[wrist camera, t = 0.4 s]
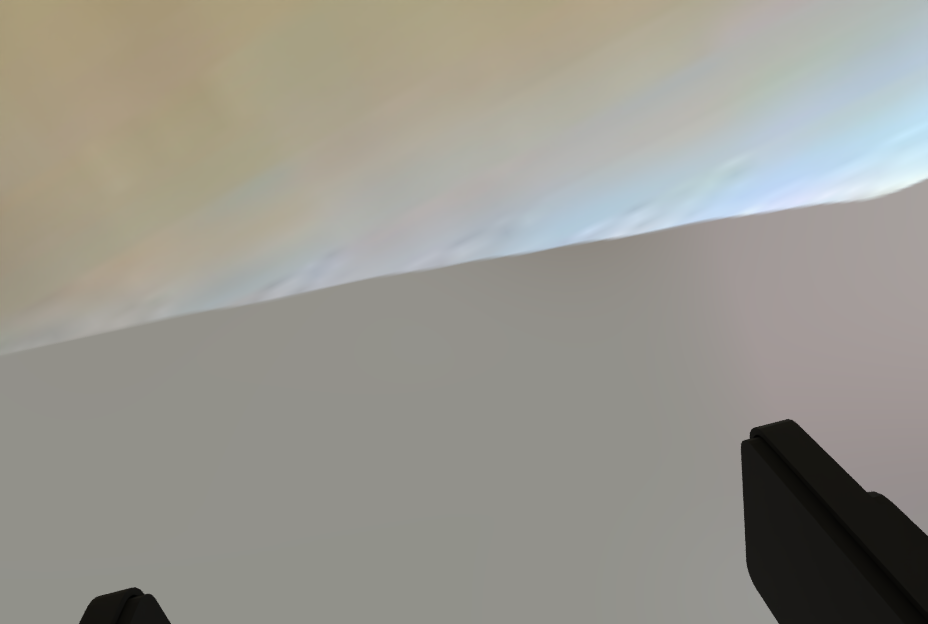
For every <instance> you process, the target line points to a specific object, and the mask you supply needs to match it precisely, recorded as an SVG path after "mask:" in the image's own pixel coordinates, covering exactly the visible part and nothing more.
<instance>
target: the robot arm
mask: <svg viewBox="0 0 928 624" xmlns="http://www.w3.org/2000/svg"><path fill="white" fill-rule="evenodd" d="M741 460H742V480H743V501H744V520H745V541H746V562H747V568H748V572H749V574H750V577H751V580H752V582H753V584H754V586H755V587H756V589H757V591H758V592H759V594H760V595H761V597H762V598H763V600H764V601H765V603H766V604H767V606H768V608H769V609H770V611H771V612H772V614H773V615H774V617H775V618H776V620H777V621H778V623H779V624H928V536H927V535H926V534H925V533H924V532H923V531H922V530H921V529H920V528H919V527H918V526H917V525H916V524H914V523H913V522H912V521H911V520H910V519H909V518H908V517H907V516H906V515H905V514H904V513H903V512H902V511H901V510H900V509H899V508H898V507H897V506H896V505H894V504H893V503H892V502H891V501H890V500H889V499H887V498H886V497H885V496H883V495H882V494H879V493H877V492H866V491H865V490H864V489H863V488H862V487H861V486H860V485H859V484H858V483H857V482H856V481H855V480H854V479H853V478H852V477H851V476H850V475H849V474H848V473H847V472H846V471H845V470H844V469H843V468H842V467H841V466H840V465H839V464H838V463H837V462H836V461H835V460H834V459H833V458H832V457H831V456H829V455H828V454H827V453H826V452H825V451H824V450H823V449H822V448H821V447H820V446H819V445H818V444H817V443H816V442H815V441H814V440H813V439H812V438H811V437H810V436H809V435H808V434H807V433H806V432H805V431H804V430H803V429H802V428H801V427H800V426H799V425H798V424H797V423H795V422H794V421H793V420H789V419H786V420H783V421H779V422H775V423H771V424H767V425H763V426H759V427H755V428H753V429H752V430H751V432H750V439H748V440H744V441H742V443H741ZM79 624H171V623H170V621H169V620H168V619H167V617H166V615H165V613H164V612H163V610H162V609H161V607H160V605H159V604H158V602H157V601H156V599H155V598H154V597H153V596H152V595H151V594H144V593H143V592H142V591H141V590H140V589H138V588H136V587H134V588H129V589H125V590H121V591H117V592H114V593H110V594H105V595H102V596H98V597H96V598H95V599H93V600H92V601H91V603H90V604H89V605H88V607H87V609H86V611H85V613H84V615H83V617H82V619H81V621H80V623H79Z"/></svg>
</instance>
